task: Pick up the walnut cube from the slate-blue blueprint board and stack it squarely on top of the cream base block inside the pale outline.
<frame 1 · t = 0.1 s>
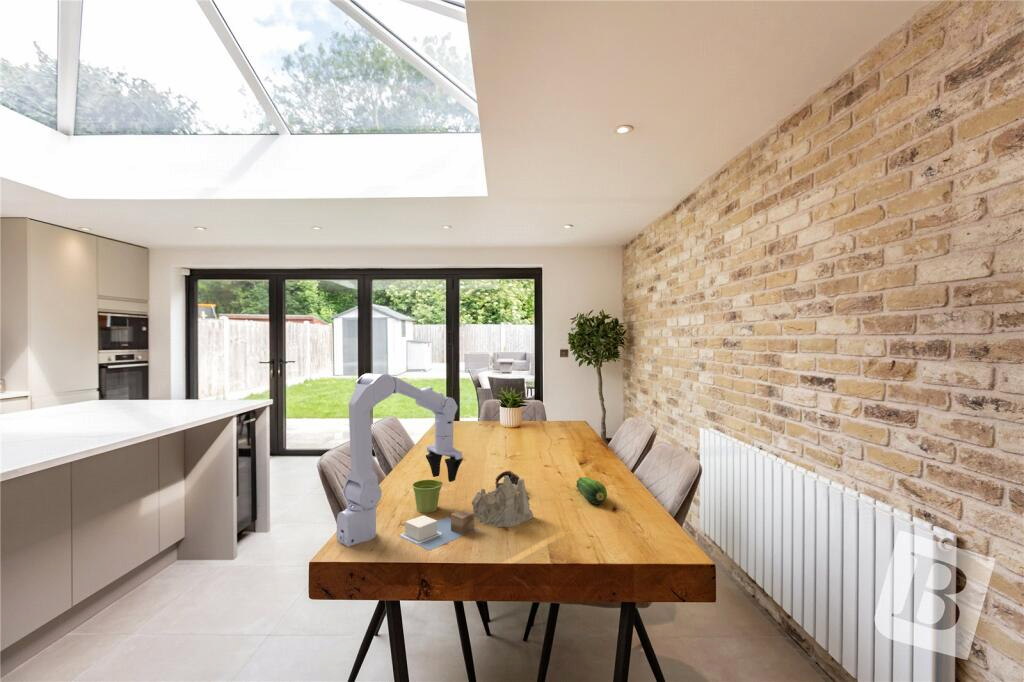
hand: (443, 478, 137), 10 cm above the table, tool pointing down, fingers open, 7 cm apart
plant pot: (427, 512, 136), on the table
walnut block: (462, 530, 119), point 1 cm above the table, touching blueprint board
vegetable: (589, 498, 150), on the table
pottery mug: (509, 491, 156), on the table
cream base block: (421, 534, 117), point 1 cm above the table, touching blueprint board
jagged grey rock: (503, 520, 130), on the table
blueprint board: (438, 535, 118), on the table
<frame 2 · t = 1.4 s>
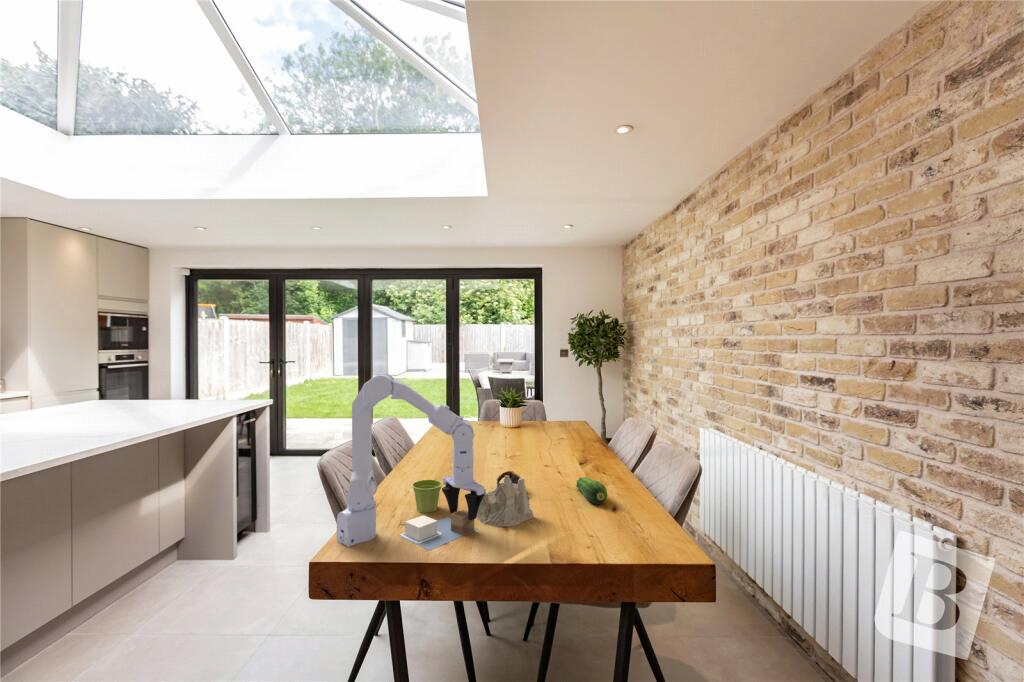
hand: (462, 515, 119), 5 cm above the table, tool pointing down, fingers open, 7 cm apart
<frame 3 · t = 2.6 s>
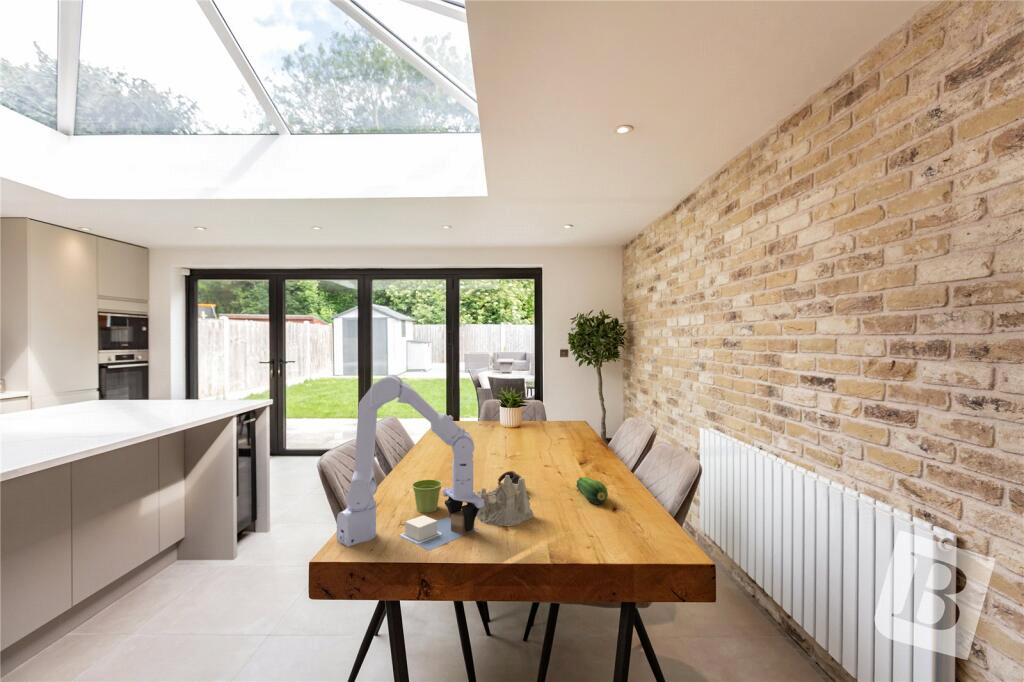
hand: (462, 527, 119), 2 cm above the table, tool pointing down, fingers closed on walnut block, 4 cm apart
walnut block: (462, 530, 119), point 1 cm above the table, touching blueprint board, gripper
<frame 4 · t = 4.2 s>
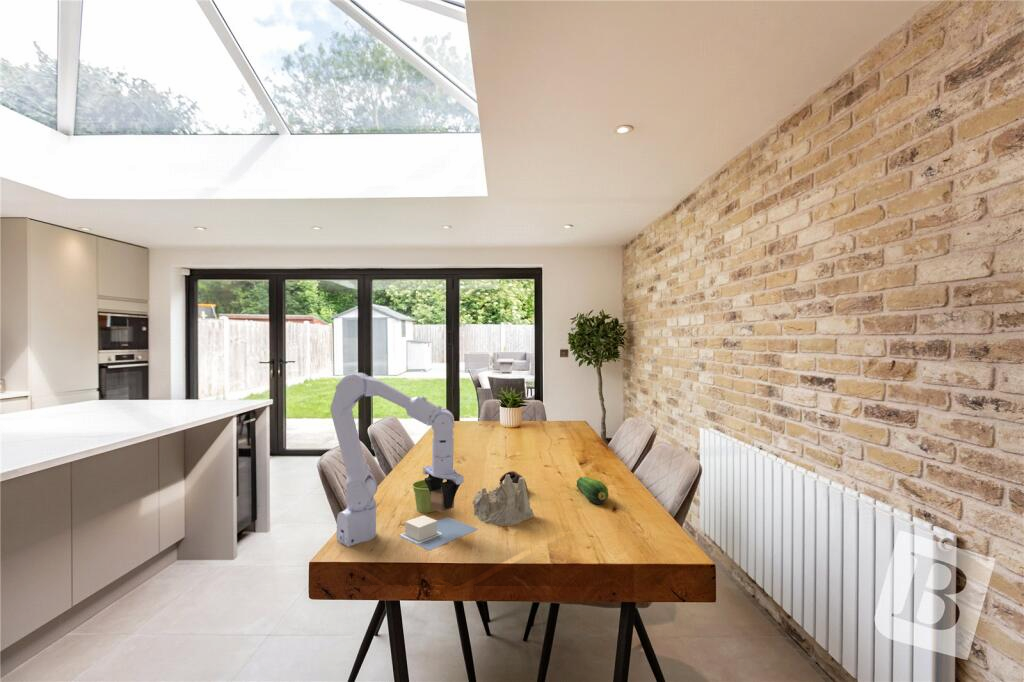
hand: (442, 505, 118), 8 cm above the table, tool pointing down, fingers closed on walnut block, 4 cm apart
walnut block: (442, 508, 118), point 8 cm above the table, touching gripper
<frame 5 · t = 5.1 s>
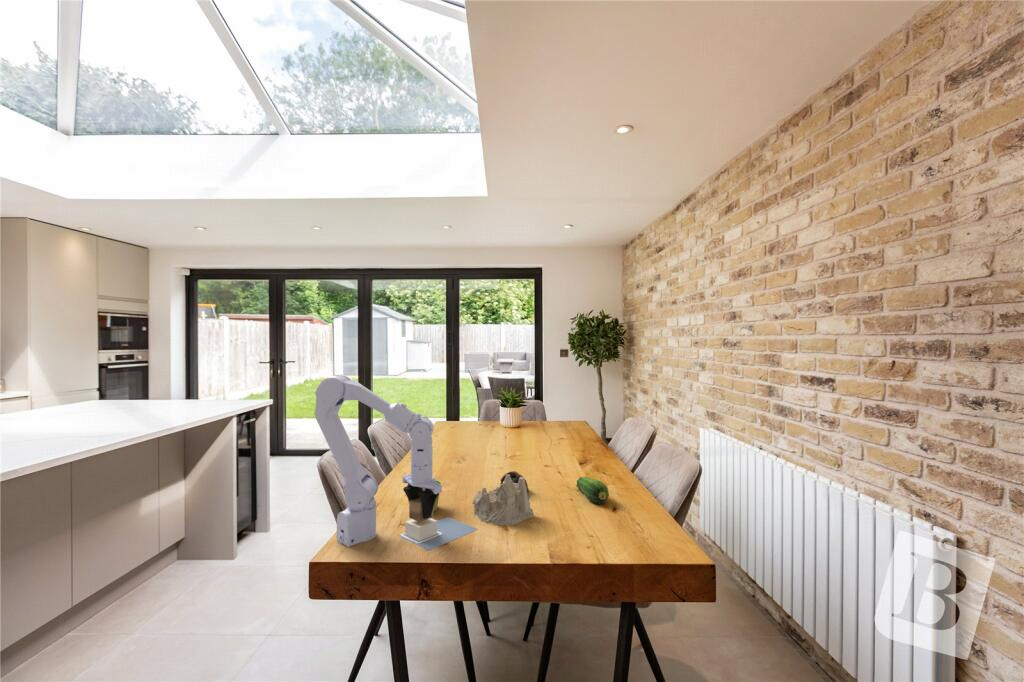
hand: (421, 514, 117), 6 cm above the table, tool pointing down, fingers closed on walnut block, 4 cm apart
walnut block: (421, 517, 117), point 6 cm above the table, touching gripper
when the fingers open (6 cm above the table, at t = 5.8 s): walnut block drops 1 cm, resting on cream base block.
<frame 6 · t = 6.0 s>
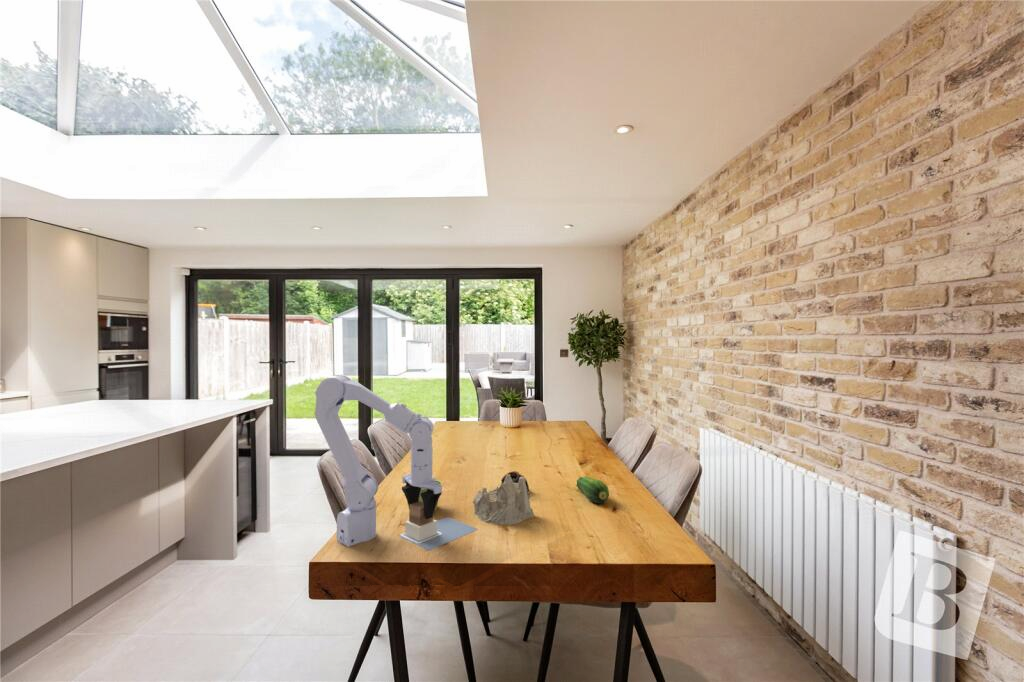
hand: (421, 514, 117), 6 cm above the table, tool pointing down, fingers open, 6 cm apart
walnut block: (421, 521, 117), point 4 cm above the table, touching cream base block
cream base block: (421, 534, 117), point 1 cm above the table, touching blueprint board, walnut block
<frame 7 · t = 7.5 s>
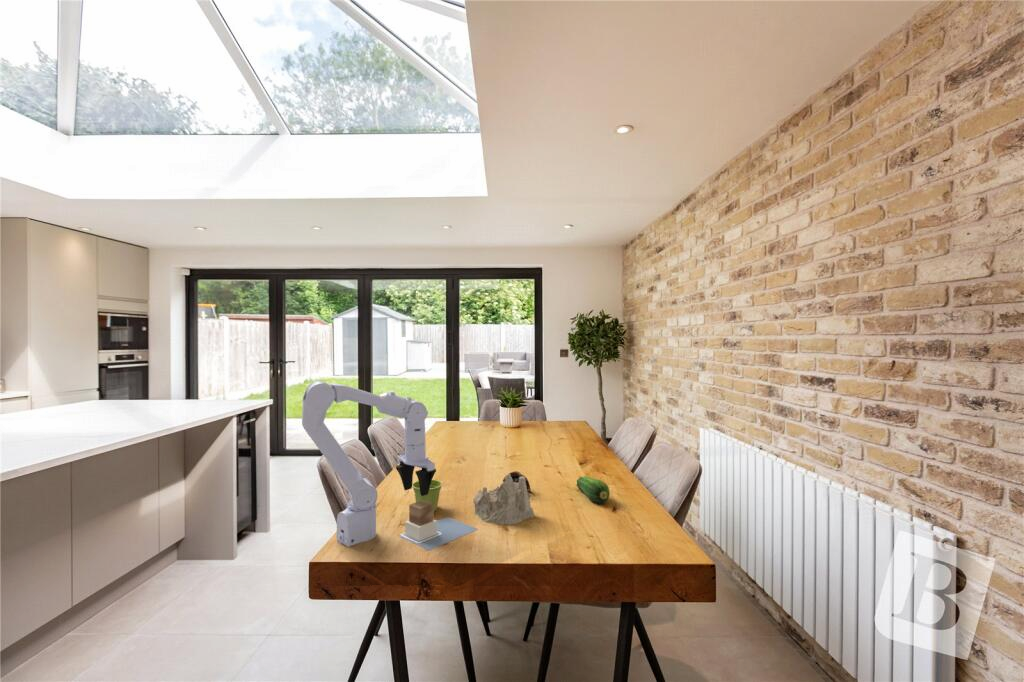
hand: (416, 492, 123), 10 cm above the table, tool pointing down, fingers open, 7 cm apart
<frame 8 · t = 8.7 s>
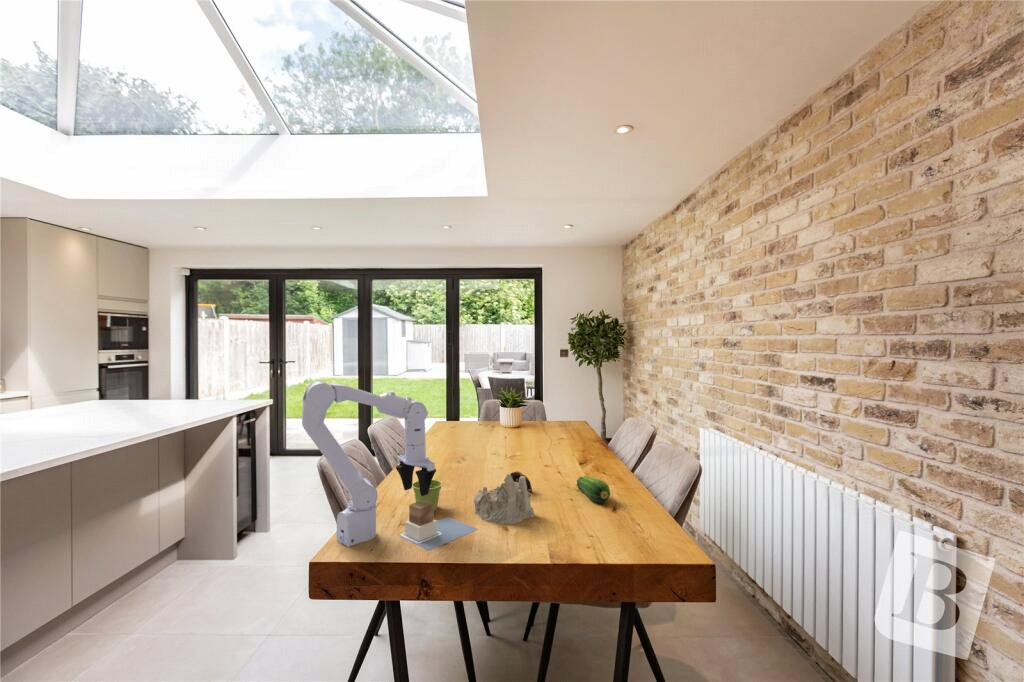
hand: (416, 492, 123), 10 cm above the table, tool pointing down, fingers open, 7 cm apart
at the end: walnut block 0.0 cm from the cream base block (horizontally); walnut block point 4.5 cm above the table; walnut block tilted 0° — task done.
